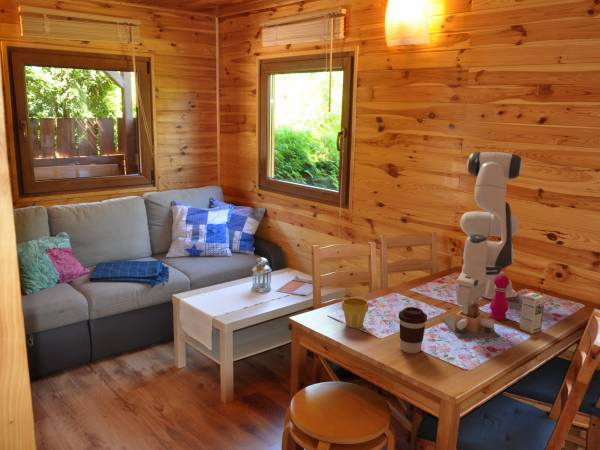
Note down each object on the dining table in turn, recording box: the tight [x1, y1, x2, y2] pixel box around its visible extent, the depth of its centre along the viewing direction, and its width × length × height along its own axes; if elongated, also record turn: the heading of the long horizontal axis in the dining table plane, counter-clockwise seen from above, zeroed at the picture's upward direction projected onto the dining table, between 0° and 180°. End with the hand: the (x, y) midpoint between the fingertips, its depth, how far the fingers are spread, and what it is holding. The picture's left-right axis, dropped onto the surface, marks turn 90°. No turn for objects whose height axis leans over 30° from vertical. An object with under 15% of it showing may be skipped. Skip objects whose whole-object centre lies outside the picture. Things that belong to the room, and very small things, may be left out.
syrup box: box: [519, 292, 546, 334], centre depth 204 cm, size 6×6×14 cm
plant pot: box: [341, 297, 369, 329], centre depth 206 cm, size 10×10×10 cm
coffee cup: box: [398, 306, 428, 354], centre depth 185 cm, size 10×10×15 cm
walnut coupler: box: [462, 302, 479, 318], centre depth 205 cm, size 4×4×9 cm
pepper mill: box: [489, 271, 510, 321], centre depth 215 cm, size 7×7×20 cm
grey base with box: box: [440, 308, 500, 339], centre depth 205 cm, size 18×16×6 cm
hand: (470, 310), depth 204 cm, fingers open, 8 cm apart
